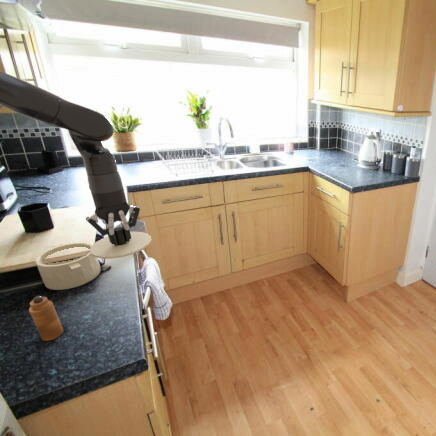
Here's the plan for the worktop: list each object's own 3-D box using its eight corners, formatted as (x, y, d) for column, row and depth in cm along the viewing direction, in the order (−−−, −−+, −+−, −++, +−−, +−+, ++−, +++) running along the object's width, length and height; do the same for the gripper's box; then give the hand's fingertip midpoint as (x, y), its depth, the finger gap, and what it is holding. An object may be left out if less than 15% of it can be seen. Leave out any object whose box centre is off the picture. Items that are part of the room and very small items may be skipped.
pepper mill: (43, 343, 78) (26, 305, 73) (39, 334, 81) (22, 297, 76) (65, 333, 81) (50, 296, 76) (61, 325, 84) (46, 288, 79)
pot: (54, 300, 93) (44, 275, 89) (37, 273, 104) (28, 251, 101) (110, 278, 103) (103, 256, 100) (89, 256, 115) (83, 235, 111)
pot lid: (102, 267, 85) (96, 247, 83) (83, 247, 94) (77, 229, 92) (161, 246, 96) (157, 228, 94) (139, 230, 106) (135, 213, 103)
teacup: (150, 247, 122) (146, 228, 119) (117, 253, 117) (112, 234, 114) (147, 232, 133) (143, 215, 130) (117, 238, 128) (112, 220, 124)
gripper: (81, 197, 81) (99, 255, 88) (139, 185, 91) (151, 238, 98) (72, 190, 85) (90, 246, 92) (128, 179, 95) (141, 231, 102)
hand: (121, 242), depth 95 cm, fingers closed on pot lid, 2 cm apart
